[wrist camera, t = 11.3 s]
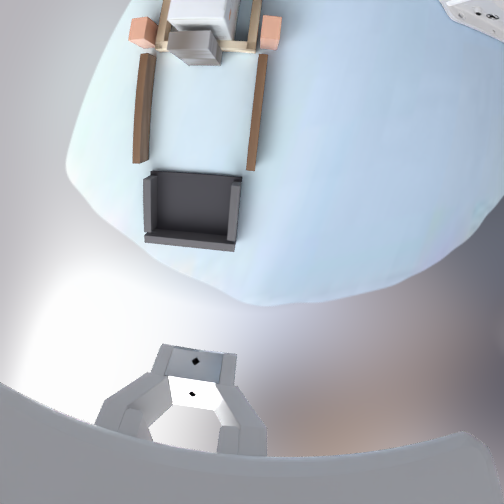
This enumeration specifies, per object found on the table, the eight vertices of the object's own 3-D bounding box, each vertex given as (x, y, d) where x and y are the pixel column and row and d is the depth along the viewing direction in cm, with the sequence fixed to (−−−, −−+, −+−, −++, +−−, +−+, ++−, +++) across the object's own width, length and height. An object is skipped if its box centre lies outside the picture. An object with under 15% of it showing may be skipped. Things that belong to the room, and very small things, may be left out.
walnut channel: (267, 60, 29) (267, 54, 27) (255, 167, 35) (254, 171, 33) (149, 58, 29) (140, 53, 26) (141, 159, 35) (132, 163, 32)
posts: (279, 30, 27) (281, 17, 23) (276, 50, 29) (279, 39, 24) (146, 29, 27) (132, 18, 23) (143, 48, 28) (128, 40, 24)
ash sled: (265, -22, 24) (266, -56, 15) (253, 68, 30) (251, 50, 21) (173, -22, 23) (152, -51, 15) (158, 66, 29) (129, 53, 21)
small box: (199, -6, 25) (179, -42, 15) (242, -5, 25) (236, -44, 16) (189, 44, 28) (164, 19, 19) (234, 46, 29) (224, 18, 19)
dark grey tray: (241, 177, 36) (240, 182, 33) (235, 242, 40) (234, 251, 37) (151, 171, 36) (143, 175, 33) (152, 233, 40) (144, 242, 37)
